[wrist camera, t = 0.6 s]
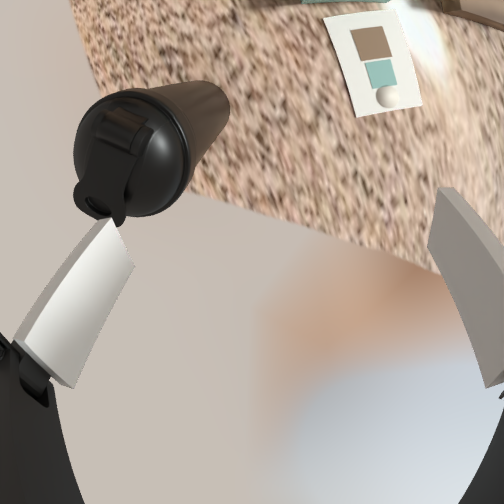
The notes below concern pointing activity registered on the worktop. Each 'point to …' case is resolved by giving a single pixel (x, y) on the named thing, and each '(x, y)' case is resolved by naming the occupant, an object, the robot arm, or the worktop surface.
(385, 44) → the page
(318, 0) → the teal brick
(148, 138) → the water bottle
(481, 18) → the walnut base
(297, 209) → the worktop surface
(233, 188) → the worktop surface
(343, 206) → the worktop surface
